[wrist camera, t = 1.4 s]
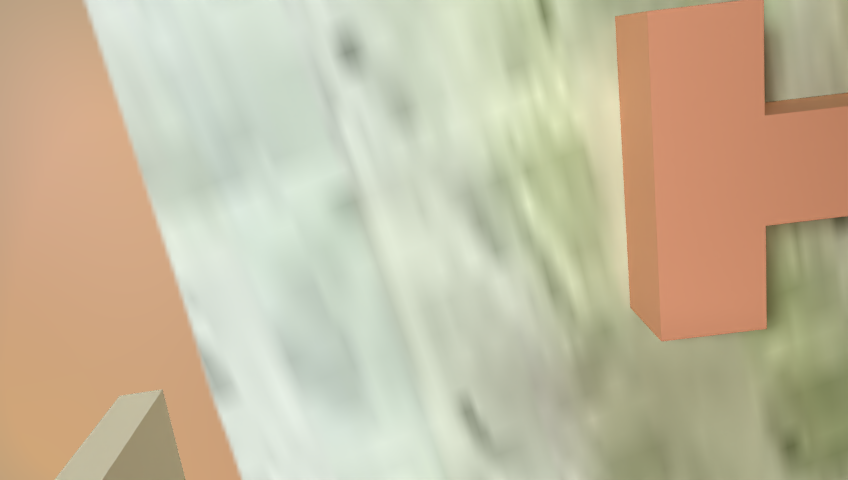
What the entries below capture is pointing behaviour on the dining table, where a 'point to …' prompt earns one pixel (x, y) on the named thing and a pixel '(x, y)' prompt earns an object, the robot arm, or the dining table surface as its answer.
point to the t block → (715, 165)
